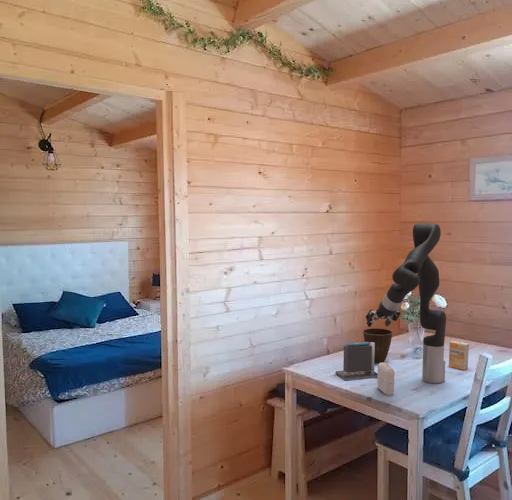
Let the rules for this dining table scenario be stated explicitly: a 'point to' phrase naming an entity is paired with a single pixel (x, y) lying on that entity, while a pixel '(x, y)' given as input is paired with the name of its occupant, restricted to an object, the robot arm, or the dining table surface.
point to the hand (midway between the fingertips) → (377, 325)
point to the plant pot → (379, 342)
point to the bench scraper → (359, 357)
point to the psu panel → (357, 375)
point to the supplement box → (458, 355)
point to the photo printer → (385, 378)
